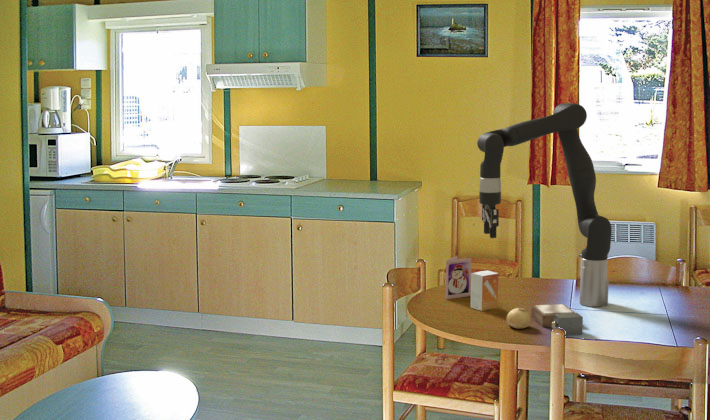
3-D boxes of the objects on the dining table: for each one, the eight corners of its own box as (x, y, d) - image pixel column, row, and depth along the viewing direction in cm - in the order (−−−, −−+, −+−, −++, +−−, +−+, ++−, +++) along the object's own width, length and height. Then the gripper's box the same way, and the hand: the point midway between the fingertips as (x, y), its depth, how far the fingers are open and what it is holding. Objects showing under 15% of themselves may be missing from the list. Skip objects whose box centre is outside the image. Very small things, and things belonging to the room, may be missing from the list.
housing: (576, 330, 265) (577, 312, 264) (582, 334, 260) (582, 317, 259) (549, 331, 264) (549, 313, 263) (554, 336, 259) (555, 318, 258)
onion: (508, 330, 265) (508, 309, 264) (504, 323, 273) (505, 303, 271) (532, 330, 264) (533, 310, 263) (528, 323, 272) (529, 303, 271)
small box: (481, 311, 288) (482, 276, 286) (470, 307, 293) (470, 272, 291) (498, 307, 292) (499, 273, 290) (486, 304, 297) (487, 269, 295)
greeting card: (446, 299, 304) (447, 261, 301) (436, 295, 310) (436, 257, 308) (472, 296, 308) (472, 258, 306) (461, 292, 315) (462, 254, 313)
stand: (564, 315, 281) (564, 303, 280) (577, 325, 269) (577, 312, 269) (531, 317, 280) (531, 304, 279) (542, 327, 268) (542, 314, 267)
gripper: (506, 192, 274) (505, 239, 276) (495, 187, 288) (495, 231, 290) (484, 193, 273) (484, 240, 276) (474, 188, 287) (474, 232, 290)
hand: (489, 235), depth 283 cm, fingers open, 8 cm apart
